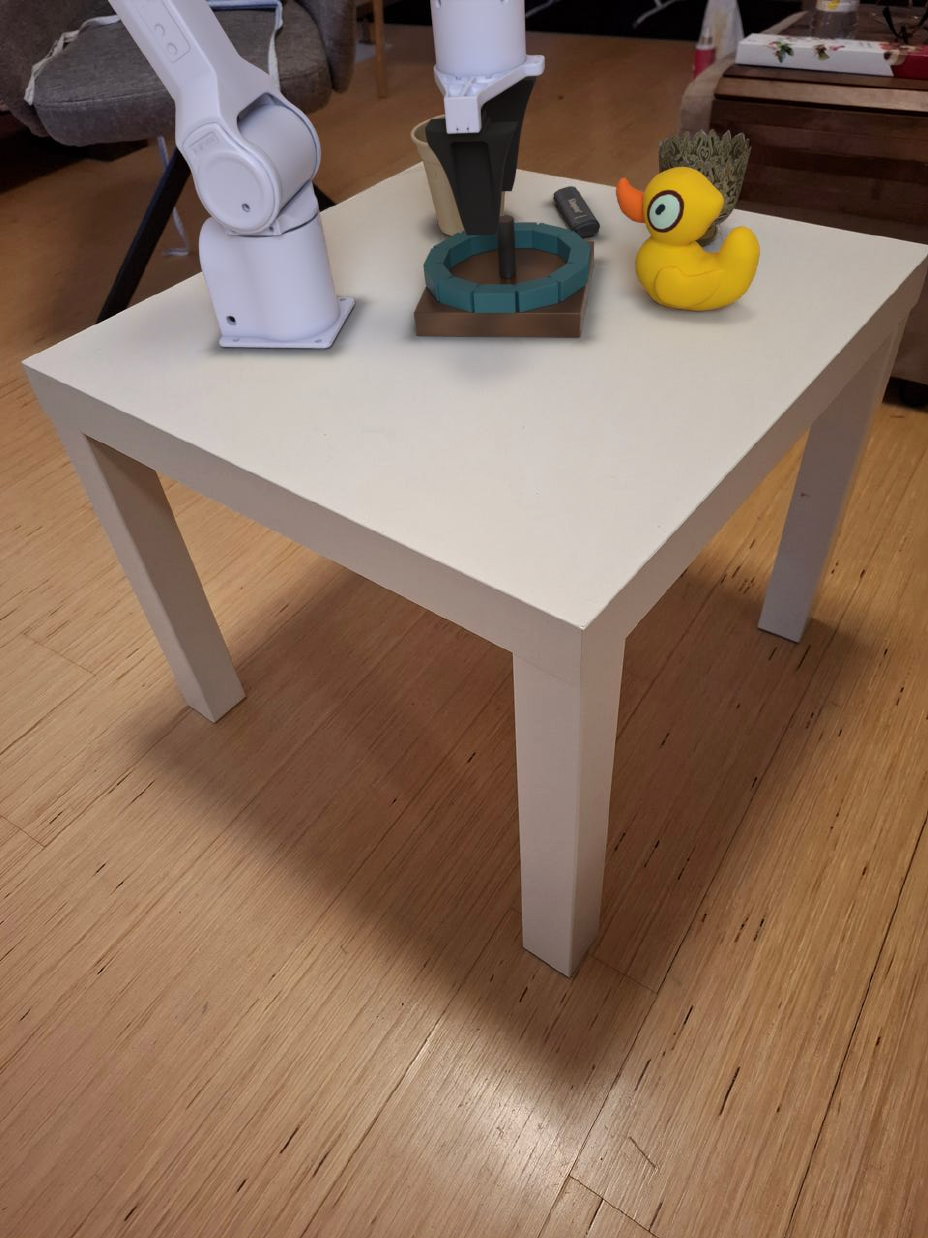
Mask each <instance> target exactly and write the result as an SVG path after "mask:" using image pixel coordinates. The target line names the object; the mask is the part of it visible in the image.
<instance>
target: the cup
mask: <svg viewBox="0 0 928 1238" xmlns="http://www.w3.org/2000/svg"><path fill="white" fill-rule="evenodd" d="M690 135H691V134H690V131H689V130H686V131H685V132H683V134H682V136H681V139H680V138H678V136H676V135H675V134H673V133H670V134H668V135H667V137H666V139H665V140H663V139H660V141H659V144H658V145H659V146H658V147H659V150H658V174H660V173H662V172H664V171H666V170H669V169H672V168H675V167H688V168H692V169H695V170H697V171H699V172H700V173H702V174H703V175H704V176H705V177H706V178H707V179H708V180H709V181H710V182H711V183H712V184H713V186H714V187H715V188H716V189H717V190H718V191H719V192H720V193H721V194H722V196H723V198H724V205H723V208H722V210H721V212H720V214H719V216H718V217H717V218H716V219H715V220H714V221H713V222H712V223H711V225H710V227H709V228H708V229H707V231H706V232H705V233H704V234H703V235H702V236H701V237H700V238H699V239H697V240H695V241H696V242H697V243H698V244H699V245H700V246H701V247H702V246H706V245H709V244H711V243H712V242H713V241H714V240H715V238H716V236H717V235H718V231H719V229H718V225H720V224H722V223H723V222H725V221H726V220H727V219H728V218H729V217H730V216H731V214H732V213H733V211H734V209H735V208H736V205H737V203H738V201H739V197H740V194H741V191H742V187H743V183H744V179H745V174H746V170H747V167H748V162H749V158H750V155H751V152H752V151H751V150H752V146H750V138H745V133H744V132H739V133H738V134H737V135H735V136H733V137H732V135H731V131H730V130H729V129H728V130H727V131H726V132H725V133H724V134H723V135H722V137H721V140H720V136H719V135H718V134H717V131H716V130H715V129H714V128H711V129H709V131H708V134H706V132H705V131H704V129H703V128H700V129H699V130H698V131H697V132H696V133H695V135H694V136H693V138H692V139H691V136H690Z"/></svg>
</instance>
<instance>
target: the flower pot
mask: <svg viewBox="0 0 928 1238" xmlns="http://www.w3.org/2000/svg"><path fill="white" fill-rule="evenodd" d="M443 118H445V113H444V114H440V115H436V116H434V117H431V118H428V119H426V120H424V121H422V122H420V123H418V124H417V125H415V126H414V127H413V128H412V129H411V130H410V139H411V141H412V142H413V143H414V144H415V145H416V149H417V152H418V155H419V157H420V158H421V161H422V163H423V167H424V171H425V175H426V179H427V183H428V186H429V187H428V188H429V190H430V195H431V199H432V203H433V207H434V211H435V215H436V220H437V223H438V228H439V230H440V231H441V232H442V233H443V234H445V235H447V236H449V237H451V236H453V235H454V234H456V233H462V231H465V230H464V227H463V224H462V222H461V218H460V215H459V212H458V208H457V205H456V202H455V198H454V195H453V192H452V189H451V186H450V183H449V181H448V178H447V176H446V174H445V172H444V170H443V168H442V166H441V164H440V162H439V160H438V159H437V157H436V155H435V154H434V152H433V151H432V150H431V148H430V147H429V145H428V143H427V139H426V134H425V127H426V126H427V124H428V123H429V121H430V119H443ZM505 198H506V191H504V192H502V195H501V209H500V216H505V201H506V200H505Z"/></svg>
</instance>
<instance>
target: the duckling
mask: <svg viewBox="0 0 928 1238" xmlns="http://www.w3.org/2000/svg"><path fill="white" fill-rule="evenodd" d="M615 196H616V200H617V204H618V207H619V210H620V211H621V213H622V214H623V215H624V216H625V217H627V218H628V220H629V219H630V221H632V222H635V223H638V224H645V227H646V229H647V231H648V233H649V234H650V236H649V237H648V238H647V239H645V241H644V242H643V243H642V244H641V246H640V247H639V248H638V251H637V253H636V255H635V261H634V270H635V275H636V278H637V280H638V282H639V284H640V285H641V286H642V287H643V289H644V290H645V291H646V293H647V294H648V295H649V296H650V297H651V298H652V299H653V300H654V301H655V302H656V303H657V304H659V305H661V306H664V307H666V308H672V309H678V310H685V311H687V310H688V311H693V312H703V311H709V310H710V311H711V310H714V309H720V308H724V307H727V306H729V305H731V304H734V303H735V302H736V301H738V300H739V299H741V298H742V297H743V296H744V295H745V294H746V293H747V292H748V291H749V289H750V287H751V285H752V283H753V281H754V278H755V276H756V274H757V270H758V265H759V260H760V255H761V248H760V247H761V246H760V242H759V241H758V238H757V237H756V234H755V233H754V231H753V229H751V228H749V227H747V226H743V225H741V226H740V225H739V226H737V227H734V228H732V229H731V230H730V231H729V232H728V234H727V236H726V237H725V239H724V241H723V243H722V245H721V247H720V248H719V250H718V251H716V252H715V251H714V252H708V251H706V250H704V248H703V247H702V246H700V245H699V244H698V243H697V242H696V241H695V240H697V239H699V238H700V237H701V236H702V235H703V234H704V233H705V232H706V231H707V229H708V228H709V227H710V225H711V223H712V222H713V221H714V220H715V219H716V218H717V217H718V216H719V214H720V212H721V210H722V208H723V205H724V198H723V196H722V194H721V193H720V192H719V191H718V190H717V189H716V188H715V187H714V186H713V184H712V183H711V182H710V181H709V180H708V179H707V178H706V177H705V176H704V175H703V174H702V173H700V172H699V171H697V170H695V169H692V168H688V167H675V168H672V169H669V170H666V171H664V172H662V173H660V174H659V173H658V174H656V175H655V176H654V177H653V178H652V179H651V180H650V181H649V182H648V184H647V185H646V188H645V189H644V191H641V190H638V189H636V188H635V187H634V186H632V185H631V184H630V182H629V180H628V178H626V177H622V178H620V179H619V180H618V182H617V183H616V187H615Z"/></svg>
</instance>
